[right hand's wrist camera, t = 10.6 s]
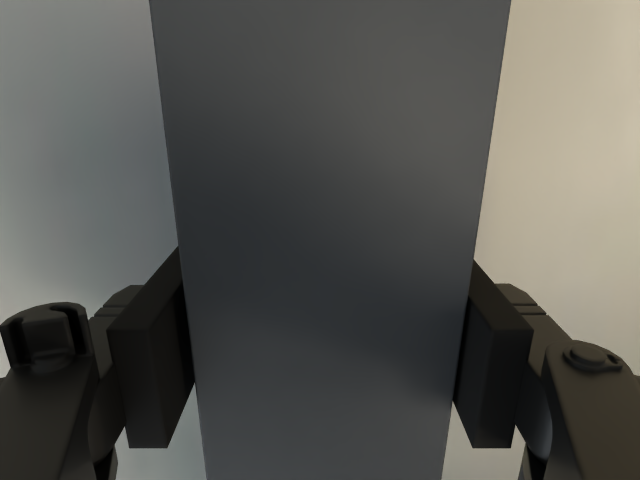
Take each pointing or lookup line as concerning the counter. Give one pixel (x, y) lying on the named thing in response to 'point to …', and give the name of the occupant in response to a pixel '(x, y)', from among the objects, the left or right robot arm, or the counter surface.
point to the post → (327, 222)
